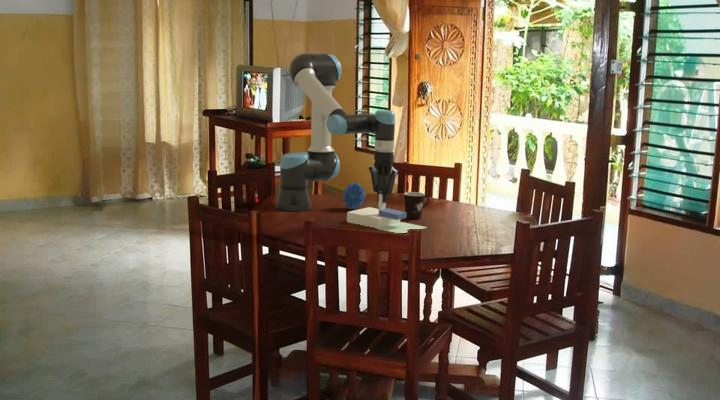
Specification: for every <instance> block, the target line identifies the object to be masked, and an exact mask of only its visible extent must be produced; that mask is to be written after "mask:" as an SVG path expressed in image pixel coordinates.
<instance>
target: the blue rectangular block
mask: <svg viewBox="0 0 720 400" xmlns="http://www.w3.org/2000/svg"><path fill="white" fill-rule="evenodd" d="M379 216H383V217H387V218H391V219H395V220H399V219H400V220H403V219H407V218H406V216H407V213H406V212H405V211H401V210H397V209H393V208H386V209H383V210H379Z"/></svg>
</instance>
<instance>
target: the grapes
mask: <svg viewBox="0 0 720 400" xmlns="http://www.w3.org/2000/svg"><path fill="white" fill-rule="evenodd" d="M364 192H365V188H364V186H361V185H360V183H359V182H354V183H352V182H349V183H348V184H347V187H346V188H344V189H343V195H344V196H343V197H342V202H344V203H345V207H346V208H347V209H350V208H351V209H352V211H354V210H357V208H358V207H362V206H363V203H364V200H365V199H366V193H364Z"/></svg>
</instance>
